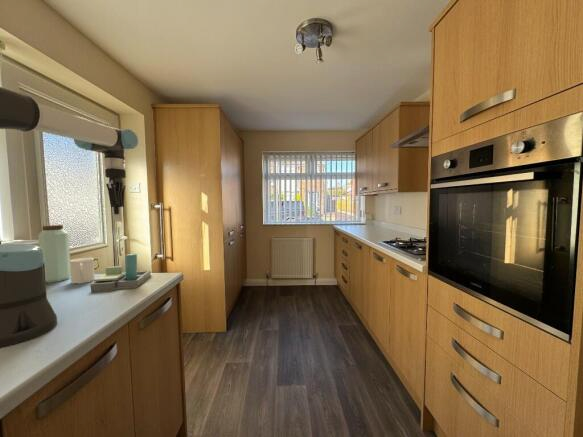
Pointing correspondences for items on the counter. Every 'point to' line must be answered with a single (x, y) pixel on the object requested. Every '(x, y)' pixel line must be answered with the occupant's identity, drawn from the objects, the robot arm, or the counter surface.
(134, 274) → the pin
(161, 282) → the counter surface
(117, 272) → the cover
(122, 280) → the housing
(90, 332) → the counter surface
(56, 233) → the water bottle
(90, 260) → the mug
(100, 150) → the robot arm
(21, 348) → the counter surface
